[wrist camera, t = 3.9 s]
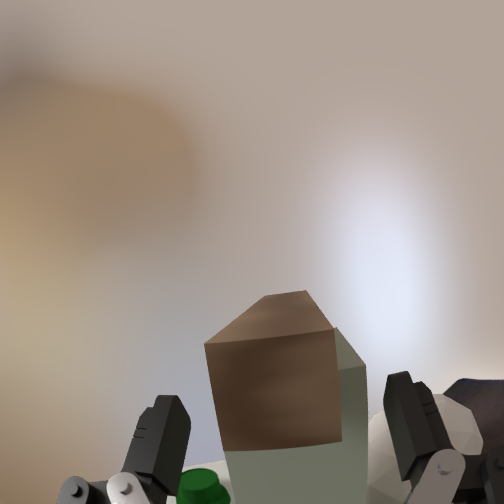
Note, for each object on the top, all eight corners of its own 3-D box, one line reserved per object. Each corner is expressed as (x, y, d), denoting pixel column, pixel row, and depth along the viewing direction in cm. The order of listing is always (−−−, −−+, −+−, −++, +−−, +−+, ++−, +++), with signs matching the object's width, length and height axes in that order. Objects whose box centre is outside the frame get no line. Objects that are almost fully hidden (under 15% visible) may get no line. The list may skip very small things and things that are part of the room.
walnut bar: (223, 451, 9) (204, 343, 10) (269, 336, 30) (264, 295, 30) (342, 441, 9) (333, 328, 9) (311, 331, 30) (306, 290, 30)
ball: (374, 536, 31) (301, 464, 39) (443, 453, 41) (383, 384, 48) (451, 553, 16) (360, 465, 24) (522, 433, 25) (454, 344, 33)
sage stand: (268, 616, 15) (210, 382, 17) (277, 549, 28) (244, 339, 30) (352, 609, 14) (365, 365, 16) (344, 542, 27) (336, 327, 29)
